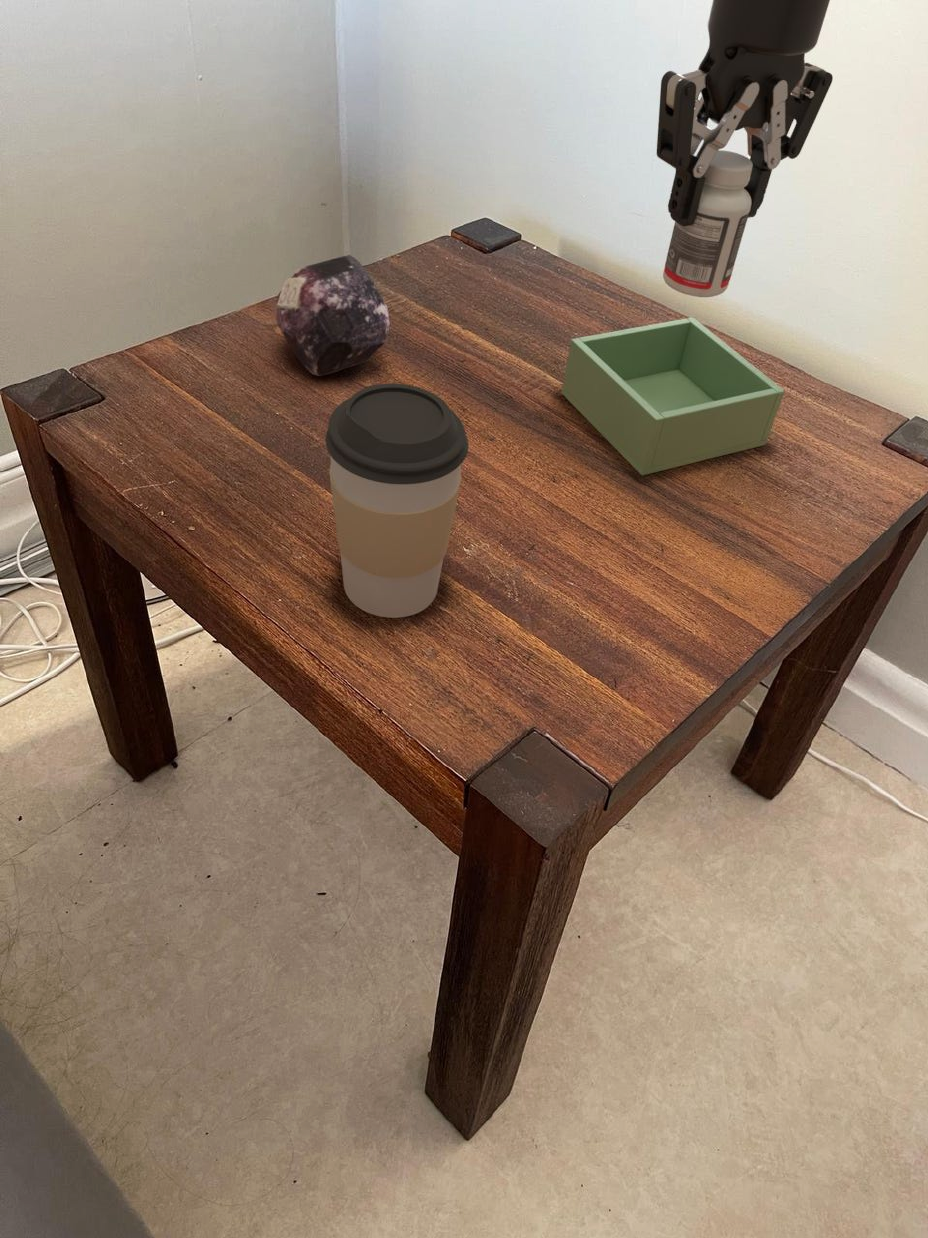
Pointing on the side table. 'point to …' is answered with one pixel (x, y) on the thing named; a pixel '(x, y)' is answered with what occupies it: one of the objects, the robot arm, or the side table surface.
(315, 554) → the side table surface
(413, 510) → the coffee cup
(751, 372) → the bin
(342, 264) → the mineral specimen
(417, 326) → the side table surface
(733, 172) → the pill bottle
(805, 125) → the robot arm
